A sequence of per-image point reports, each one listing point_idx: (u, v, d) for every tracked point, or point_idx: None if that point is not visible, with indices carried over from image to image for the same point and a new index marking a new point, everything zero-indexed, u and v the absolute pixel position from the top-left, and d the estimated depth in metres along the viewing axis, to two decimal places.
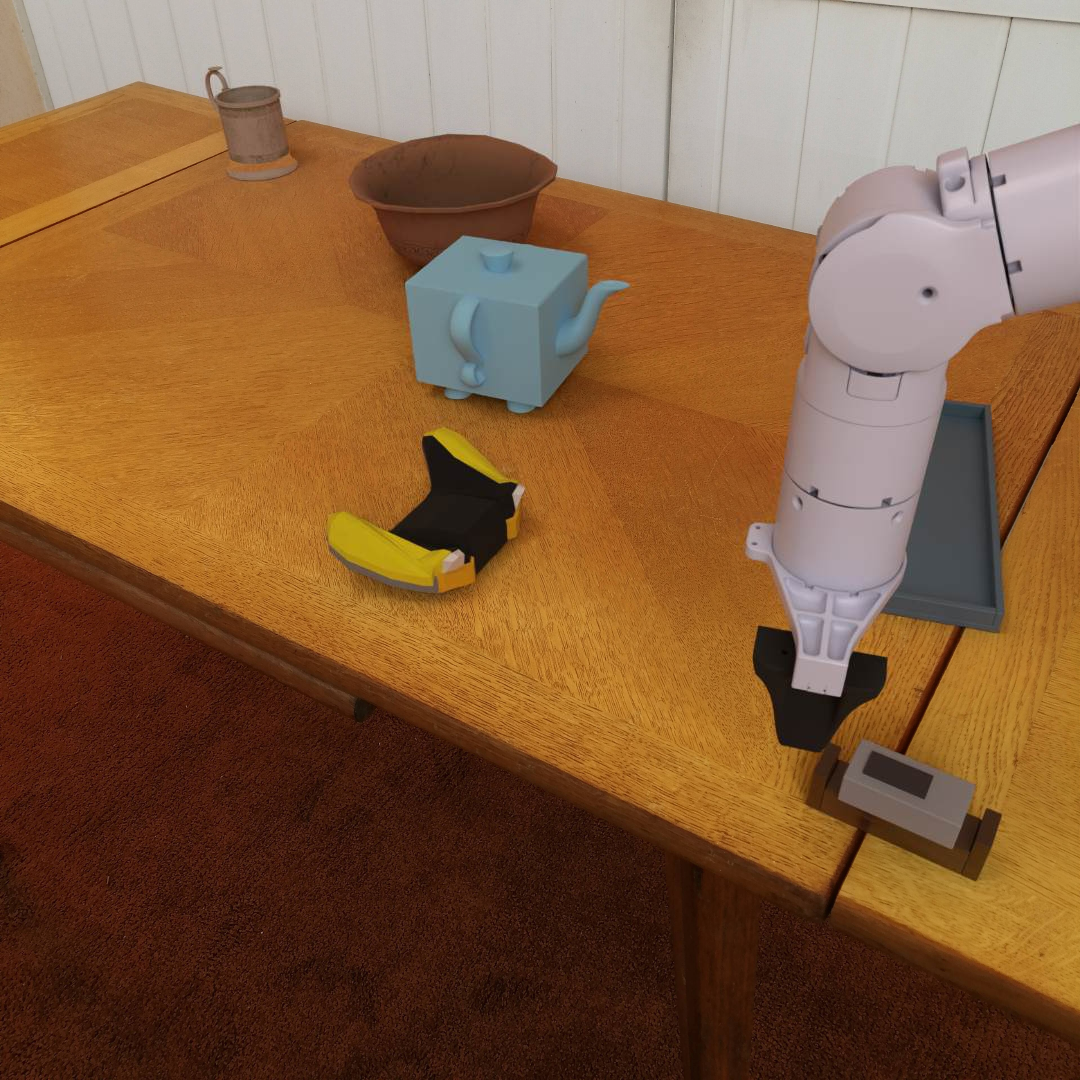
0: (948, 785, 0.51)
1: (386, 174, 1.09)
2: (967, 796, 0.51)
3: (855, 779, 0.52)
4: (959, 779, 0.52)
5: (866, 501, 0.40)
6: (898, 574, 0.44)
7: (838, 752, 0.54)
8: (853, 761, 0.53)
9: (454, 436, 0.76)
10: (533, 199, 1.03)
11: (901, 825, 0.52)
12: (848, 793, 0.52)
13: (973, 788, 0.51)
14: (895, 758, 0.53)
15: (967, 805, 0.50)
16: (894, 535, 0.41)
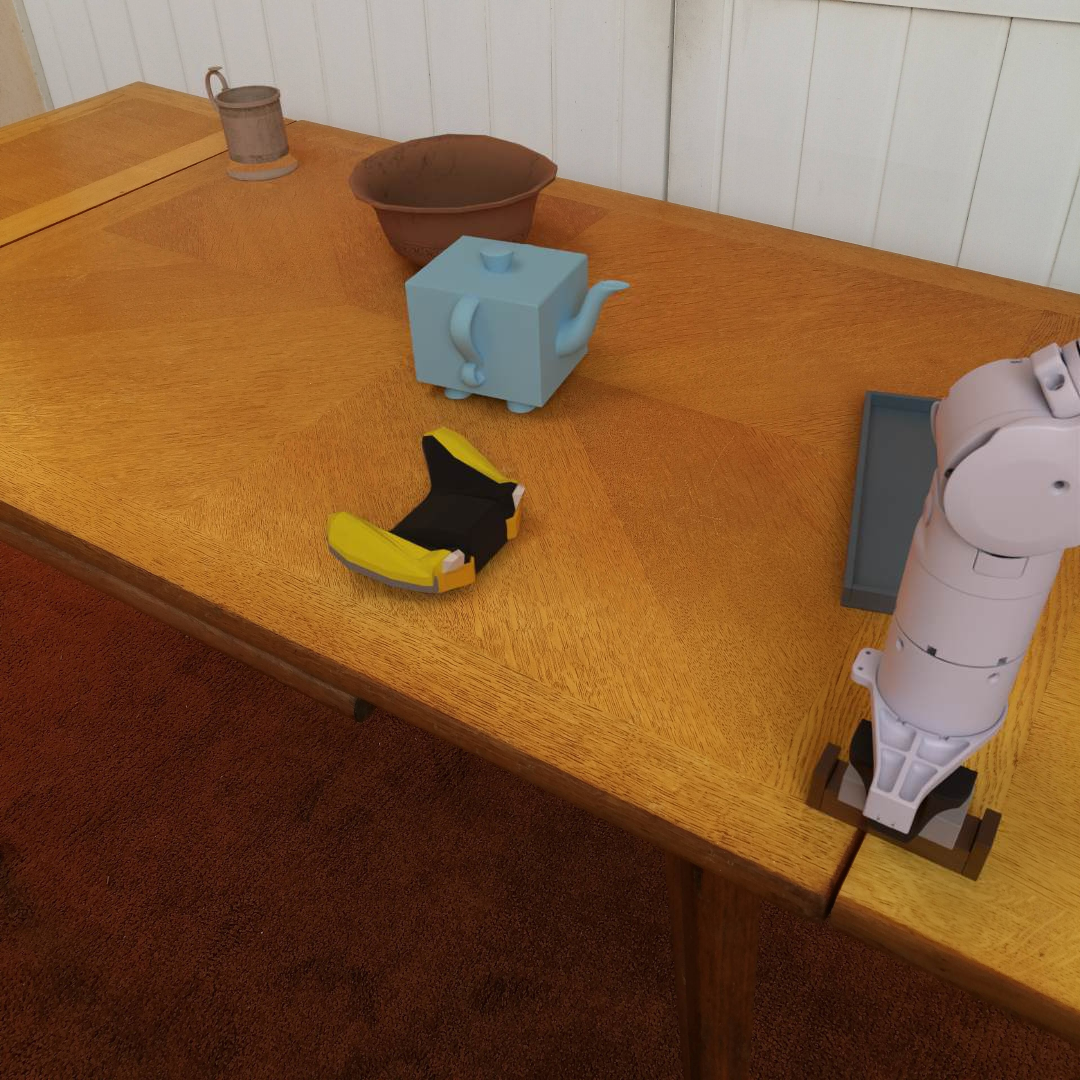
0: None
1: (386, 174, 1.09)
2: None
3: (855, 779, 0.52)
4: None
5: (983, 661, 0.42)
6: (993, 727, 0.45)
7: (838, 752, 0.54)
8: None
9: (454, 436, 0.76)
10: (533, 199, 1.03)
11: None
12: (848, 793, 0.52)
13: (973, 788, 0.51)
14: None
15: (967, 805, 0.50)
16: (989, 693, 0.43)
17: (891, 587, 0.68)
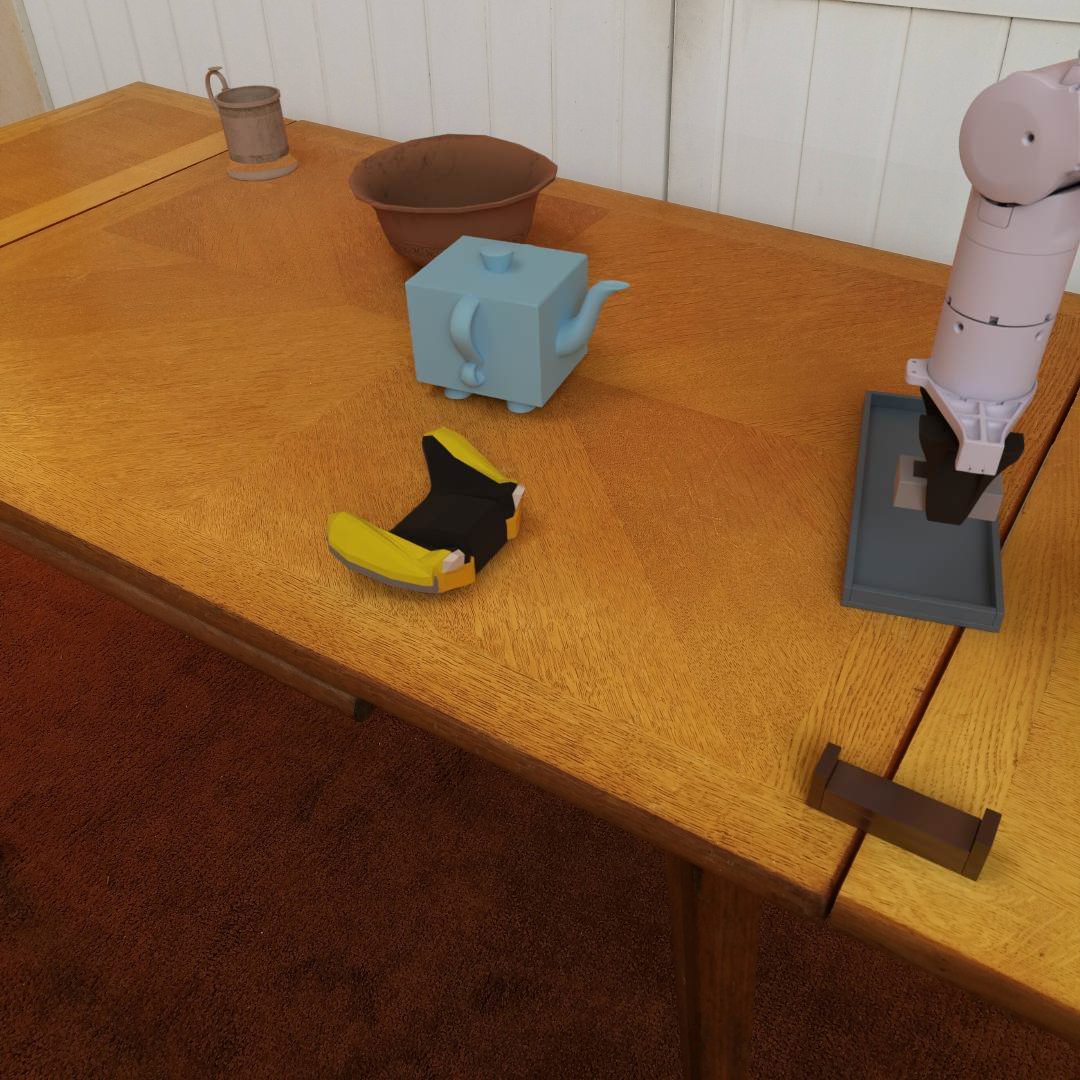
0: None
1: (386, 174, 1.09)
2: (998, 476, 0.61)
3: (909, 481, 0.61)
4: None
5: (978, 314, 0.52)
6: (1032, 390, 0.55)
7: (838, 752, 0.54)
8: (902, 470, 0.62)
9: (454, 436, 0.76)
10: (533, 199, 1.03)
11: None
12: (903, 496, 0.62)
13: None
14: None
15: (1001, 482, 0.61)
16: (1035, 352, 0.53)
17: (891, 587, 0.68)
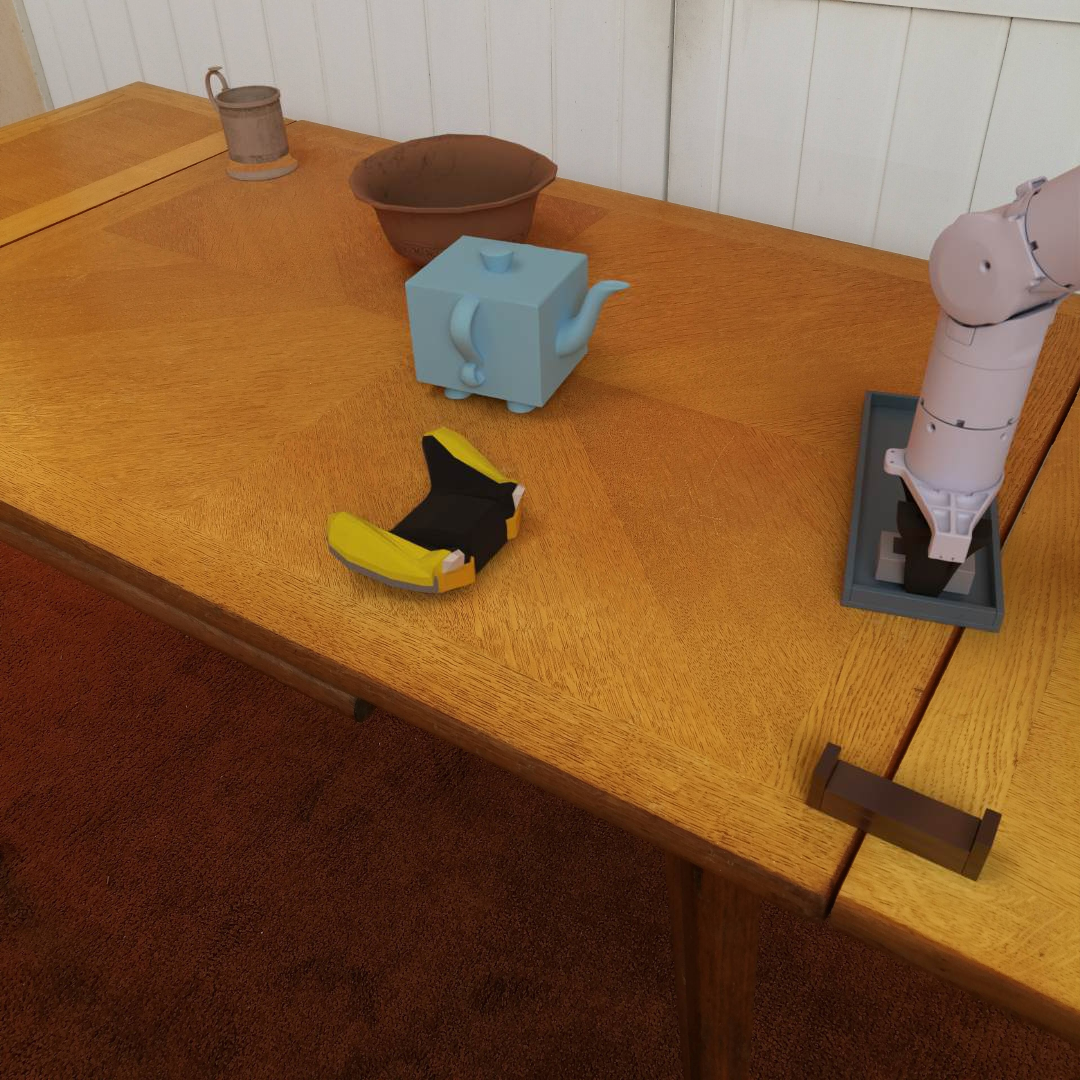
0: None
1: (386, 174, 1.09)
2: None
3: (889, 557, 0.66)
4: None
5: (946, 417, 0.58)
6: (999, 481, 0.61)
7: (838, 752, 0.54)
8: (882, 546, 0.67)
9: (454, 436, 0.76)
10: (533, 199, 1.03)
11: None
12: (884, 571, 0.67)
13: None
14: None
15: (973, 558, 0.66)
16: (1000, 450, 0.59)
17: (891, 587, 0.68)
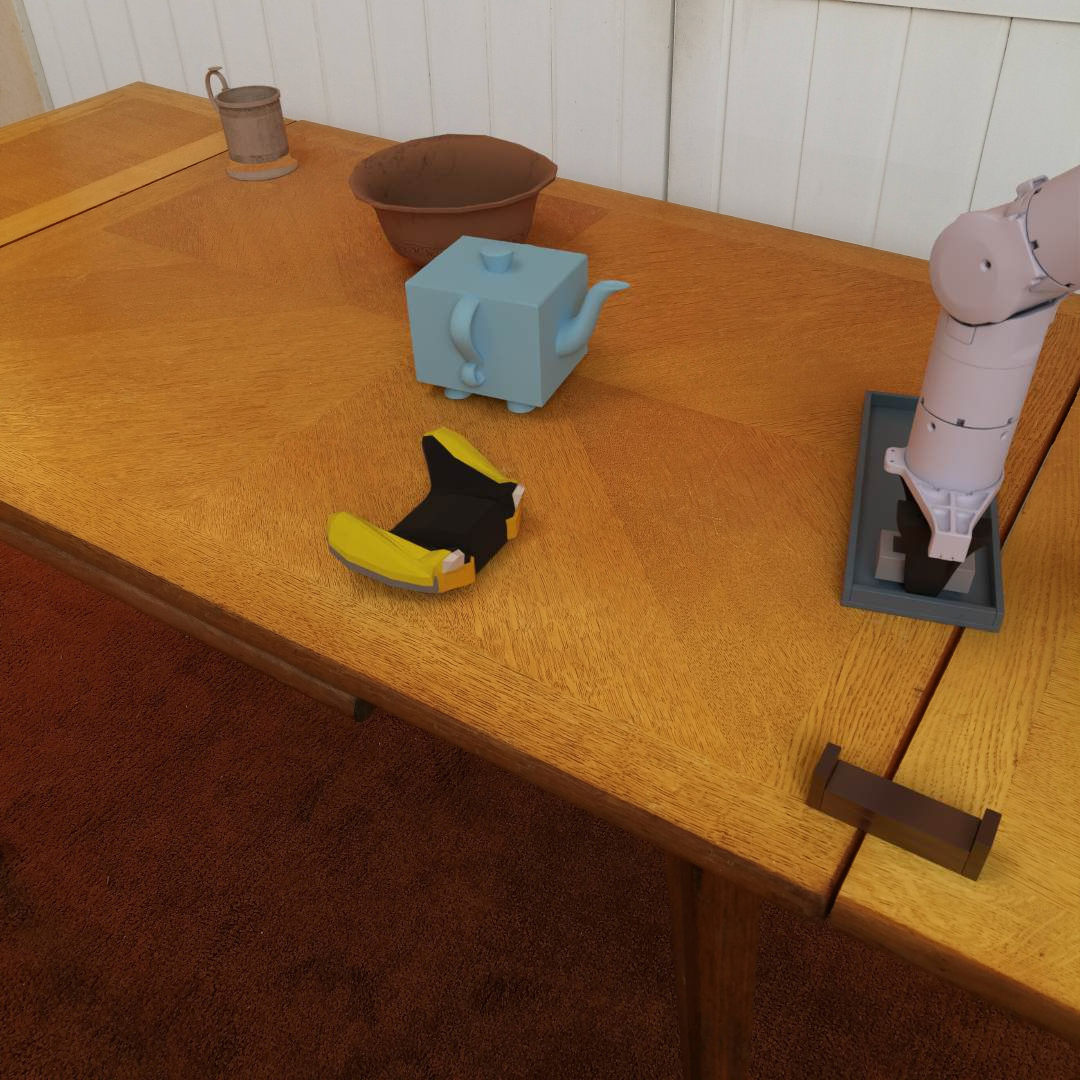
0: None
1: (386, 174, 1.09)
2: None
3: (889, 556, 0.66)
4: None
5: (946, 416, 0.58)
6: (999, 480, 0.61)
7: (838, 752, 0.54)
8: (882, 545, 0.67)
9: (454, 436, 0.76)
10: (533, 199, 1.03)
11: None
12: (884, 570, 0.67)
13: None
14: None
15: (973, 557, 0.66)
16: (1000, 449, 0.59)
17: (891, 587, 0.68)
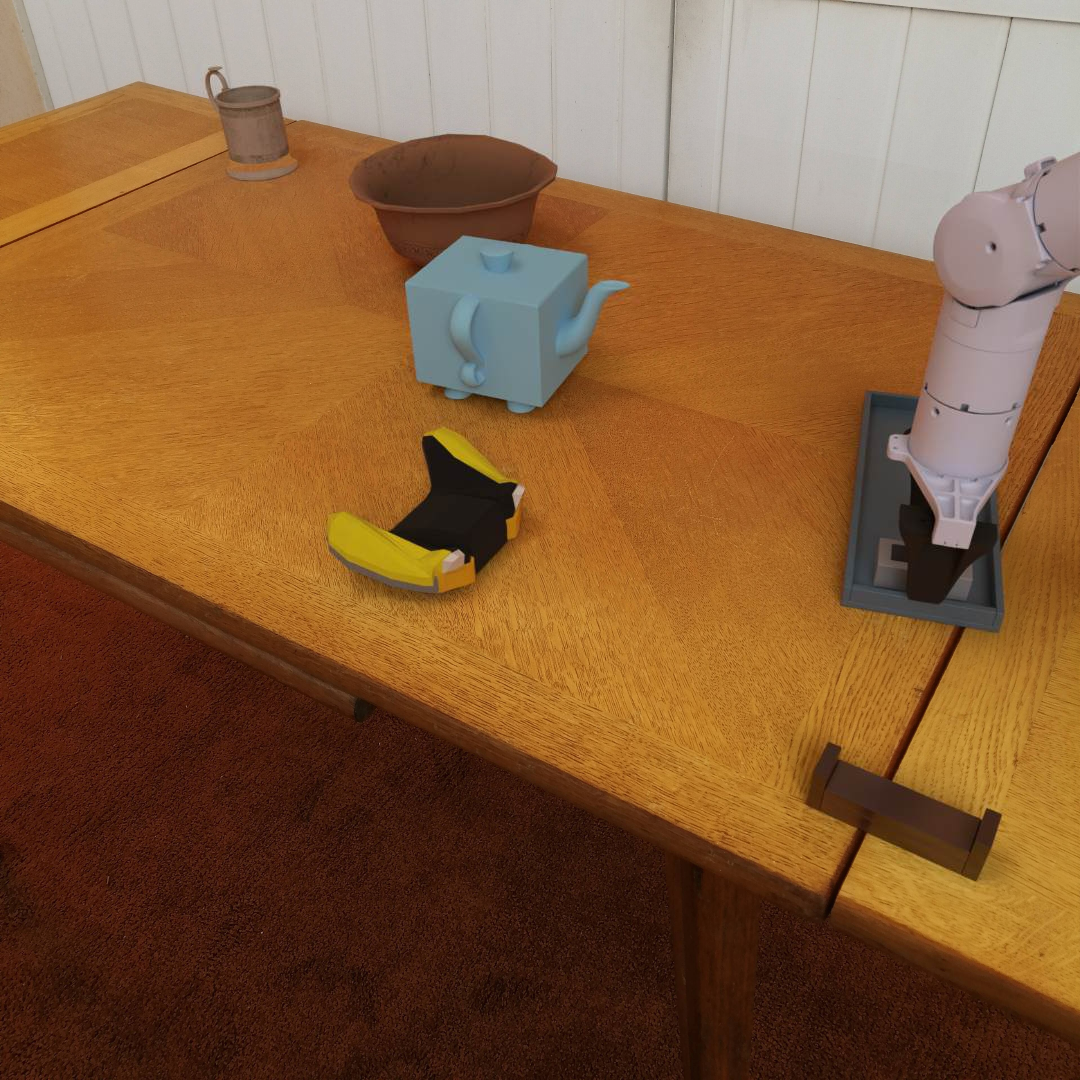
0: None
1: (386, 174, 1.09)
2: None
3: (887, 564, 0.67)
4: None
5: (950, 401, 0.57)
6: (1004, 467, 0.60)
7: (838, 752, 0.54)
8: (881, 553, 0.68)
9: (454, 436, 0.76)
10: (533, 199, 1.03)
11: None
12: (882, 578, 0.67)
13: None
14: None
15: (971, 565, 0.67)
16: (1005, 435, 0.58)
17: None
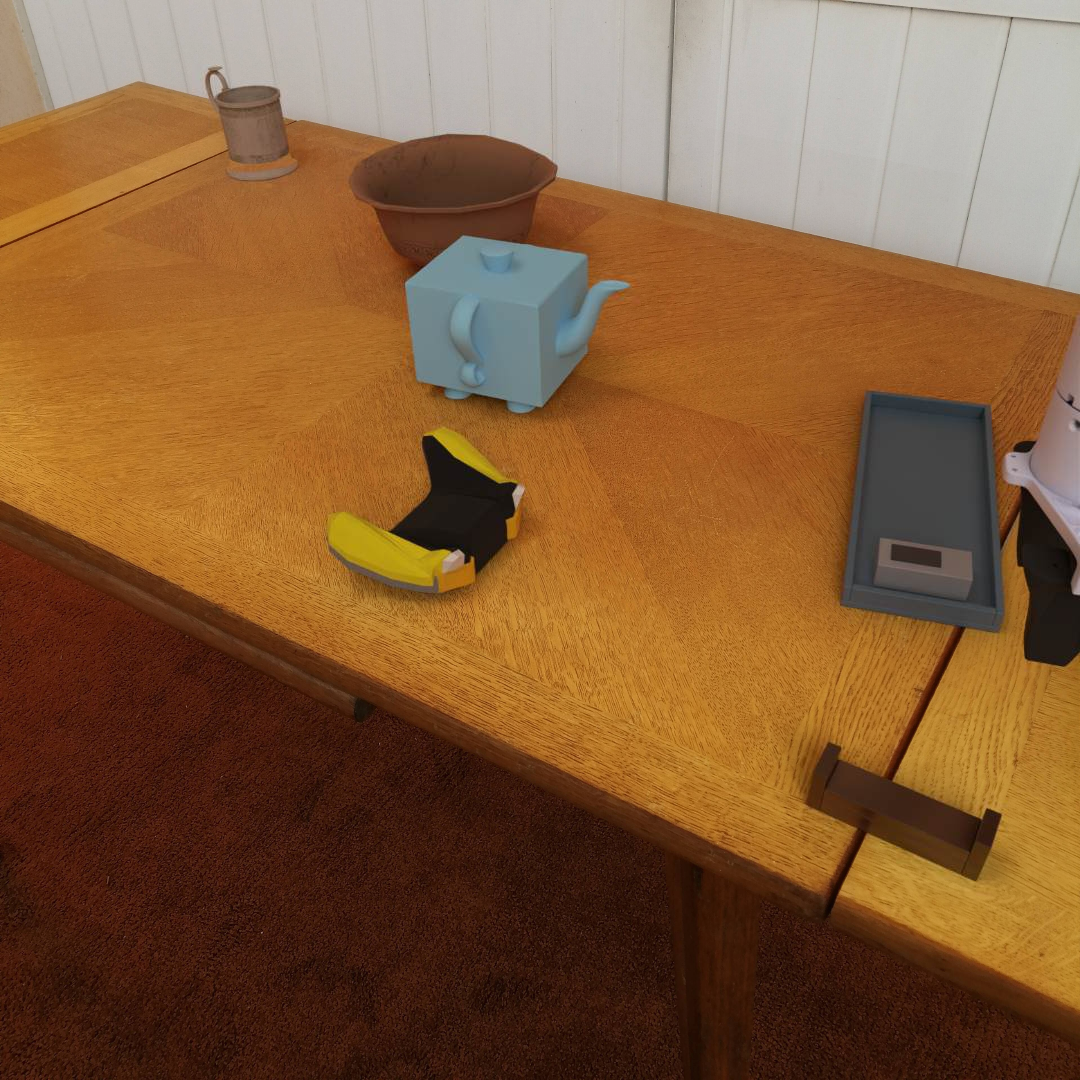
0: (953, 555, 0.67)
1: (386, 174, 1.09)
2: (968, 560, 0.67)
3: (887, 564, 0.67)
4: (959, 550, 0.68)
5: None
6: None
7: (838, 752, 0.54)
8: (881, 553, 0.68)
9: (454, 436, 0.76)
10: (533, 199, 1.03)
11: (925, 593, 0.67)
12: (882, 578, 0.67)
13: (970, 554, 0.67)
14: (909, 545, 0.68)
15: (971, 565, 0.67)
16: None
17: None
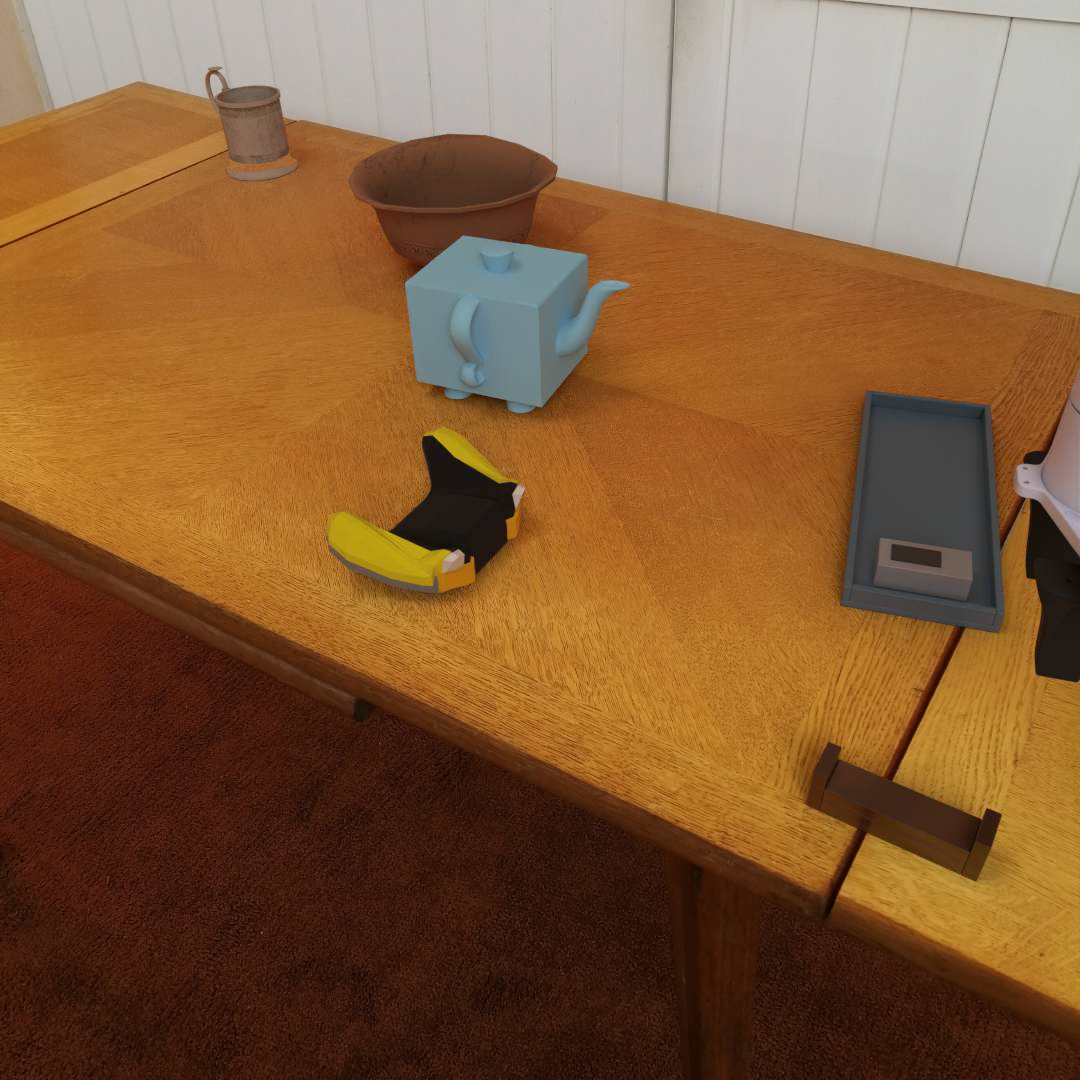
0: (953, 555, 0.67)
1: (386, 174, 1.09)
2: (968, 560, 0.67)
3: (887, 564, 0.67)
4: (959, 550, 0.68)
5: None
6: None
7: (838, 752, 0.54)
8: (881, 553, 0.68)
9: (454, 436, 0.76)
10: (533, 199, 1.03)
11: (925, 593, 0.67)
12: (882, 578, 0.67)
13: (970, 554, 0.67)
14: (909, 545, 0.68)
15: (971, 565, 0.67)
16: None
17: None
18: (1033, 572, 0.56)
